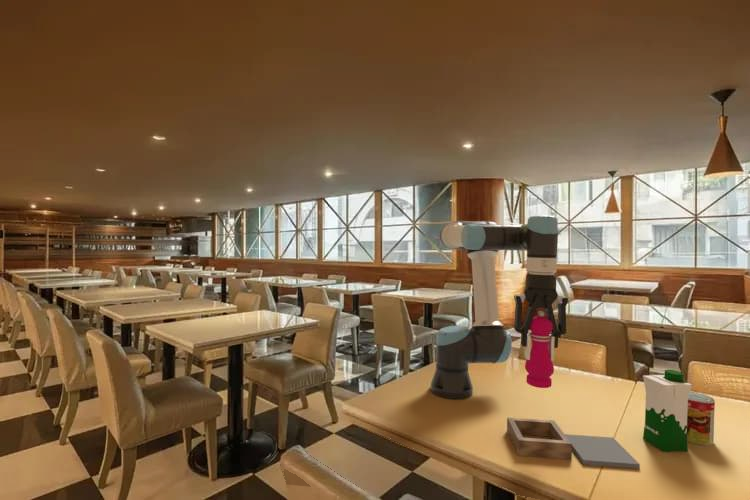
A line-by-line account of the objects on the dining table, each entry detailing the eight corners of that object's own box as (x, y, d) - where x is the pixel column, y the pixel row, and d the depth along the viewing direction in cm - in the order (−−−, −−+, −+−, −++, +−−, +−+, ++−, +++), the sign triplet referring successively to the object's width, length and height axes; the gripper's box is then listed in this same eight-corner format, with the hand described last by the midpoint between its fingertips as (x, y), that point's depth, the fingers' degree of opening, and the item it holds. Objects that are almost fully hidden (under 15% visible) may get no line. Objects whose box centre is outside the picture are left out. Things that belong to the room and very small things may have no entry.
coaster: (583, 464, 95) (583, 459, 95) (563, 438, 108) (563, 434, 108) (639, 469, 94) (639, 464, 94) (612, 441, 107) (613, 437, 107)
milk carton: (694, 452, 102) (696, 377, 101) (662, 453, 101) (664, 377, 101) (666, 436, 110) (668, 366, 110) (636, 437, 110) (638, 367, 109)
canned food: (675, 429, 115) (676, 389, 115) (709, 436, 111) (711, 394, 111) (679, 440, 108) (681, 398, 108) (716, 448, 104) (718, 404, 104)
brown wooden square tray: (518, 455, 99) (518, 440, 99) (506, 431, 112) (507, 417, 112) (571, 459, 98) (572, 443, 97) (553, 434, 110) (554, 420, 110)
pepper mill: (556, 390, 100) (559, 313, 100) (527, 387, 102) (529, 312, 101) (549, 380, 107) (552, 308, 107) (522, 378, 109) (524, 307, 108)
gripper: (509, 273, 101) (506, 361, 102) (583, 275, 99) (580, 365, 100) (502, 271, 109) (500, 353, 109) (571, 273, 107) (569, 356, 107)
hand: (538, 358), depth 104 cm, fingers closed on pepper mill, 5 cm apart
